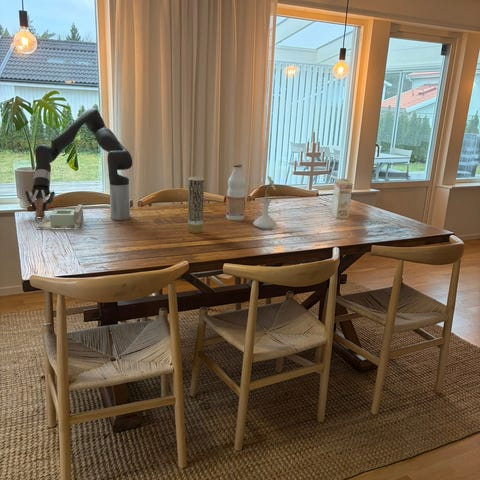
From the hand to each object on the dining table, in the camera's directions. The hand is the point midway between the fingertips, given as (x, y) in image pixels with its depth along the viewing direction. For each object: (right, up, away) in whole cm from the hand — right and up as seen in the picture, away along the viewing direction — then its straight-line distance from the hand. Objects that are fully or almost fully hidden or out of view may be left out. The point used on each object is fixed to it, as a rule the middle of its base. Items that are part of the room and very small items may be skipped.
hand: (38, 210), depth 220 cm
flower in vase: (+109, -8, +5) cm, 110 cm away
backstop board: (+14, -7, -8) cm, 17 cm away
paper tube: (+76, -11, -8) cm, 77 cm away
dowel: (-1, -3, +3) cm, 5 cm away
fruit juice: (+94, -3, +18) cm, 96 cm away
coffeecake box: (+152, -1, +34) cm, 156 cm away
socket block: (+16, -6, -8) cm, 18 cm away
